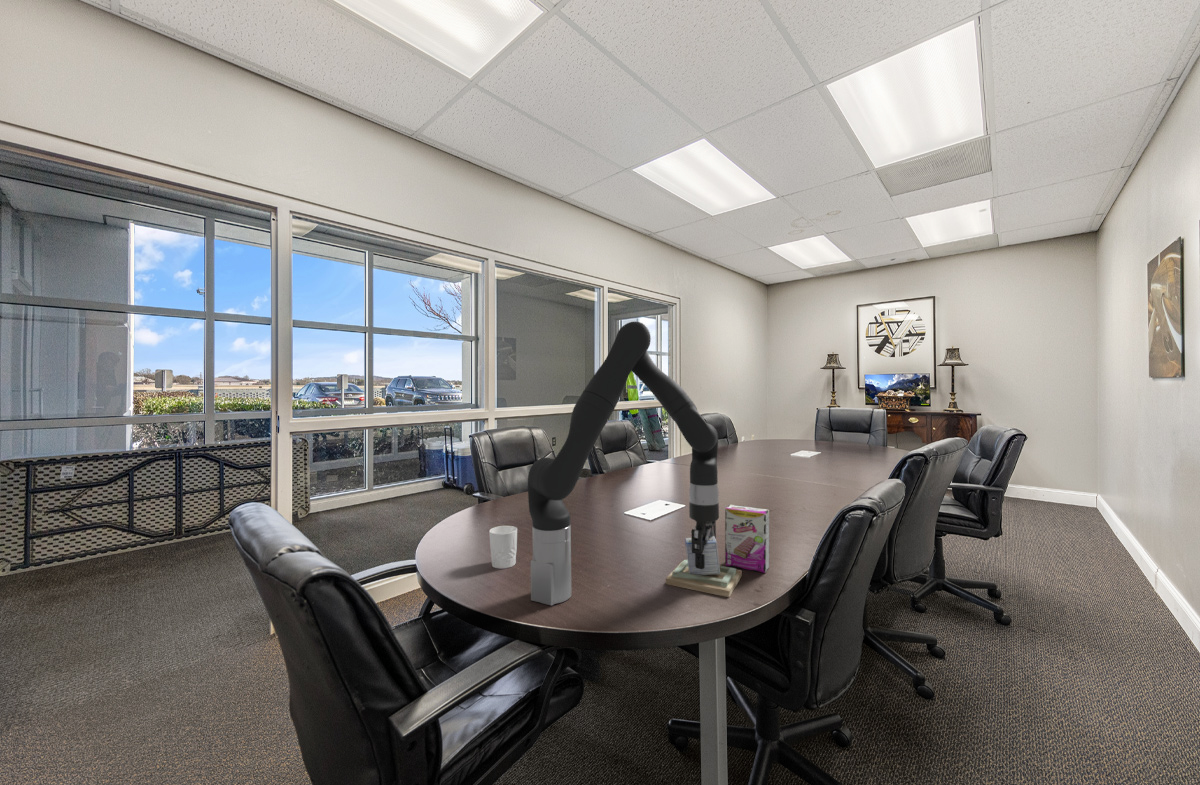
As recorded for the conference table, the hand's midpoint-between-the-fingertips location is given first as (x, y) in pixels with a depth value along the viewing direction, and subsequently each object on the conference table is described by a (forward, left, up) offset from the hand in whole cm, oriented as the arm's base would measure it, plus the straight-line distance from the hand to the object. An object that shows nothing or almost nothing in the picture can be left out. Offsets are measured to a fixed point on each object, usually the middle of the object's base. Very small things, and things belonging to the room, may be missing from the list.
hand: (704, 563), depth 119 cm
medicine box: (0, 0, -3) cm, 3 cm away
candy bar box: (+14, -8, -5) cm, 17 cm away
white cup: (-16, +54, -5) cm, 57 cm away
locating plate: (0, 0, -4) cm, 4 cm away
